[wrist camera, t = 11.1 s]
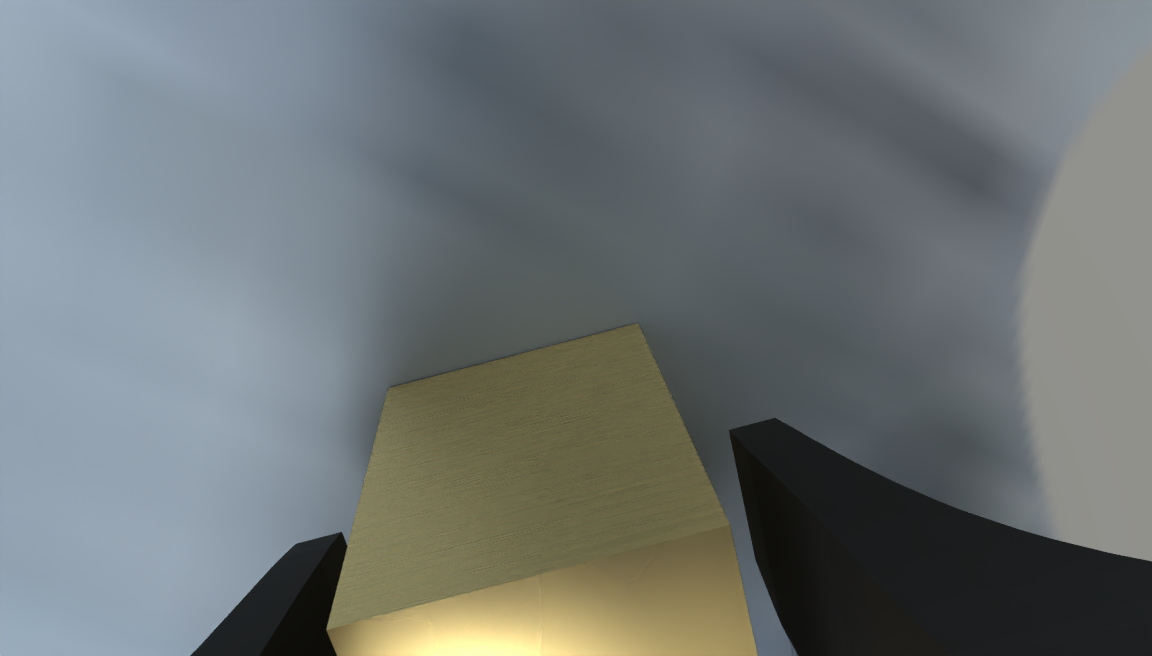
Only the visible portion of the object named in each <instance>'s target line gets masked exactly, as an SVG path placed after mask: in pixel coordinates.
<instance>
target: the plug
mask: <svg viewBox="0 0 1152 656" xmlns="http://www.w3.org/2000/svg"><path fill="white" fill-rule="evenodd" d="M326 630H327V633H328V635H329V638H330V640H331V642H332V645H333V647H334V649H335V652H336V654H337V656H758V655H757V650H756V645H755V641H754V636H753V631H752V626H751V621H750V617H749V612H748V607H747V602H746V598H745V593H744V588H743V583H742V579H741V574H740V569H739V564H738V560H737V555H736V550H735V545H734V541H733V536H732V531H731V526H730V523H729V521H728V519H727V517H726V515H725V512H724V510H723V508H722V506H721V504H720V501H719V499H718V497H717V495H716V493H715V490H714V488H713V486H712V484H711V482H710V480H709V477H708V475H707V473H706V471H705V469H704V466H703V464H702V462H701V460H700V458H699V455H698V453H697V451H696V449H695V447H694V445H693V442H692V440H691V438H690V436H689V434H688V431H687V429H686V427H685V425H684V423H683V420H682V418H681V416H680V414H679V412H678V409H677V407H676V405H675V403H674V401H673V399H672V396H671V394H670V392H669V390H668V388H667V385H666V383H665V381H664V379H663V377H662V374H661V372H660V370H659V368H658V366H657V364H656V361H655V359H654V357H653V355H652V353H651V350H650V348H649V346H648V344H647V342H646V339H645V337H644V335H643V333H642V331H641V328H640V326H639V324H638V323H637V324H633V325H629V326H625V327H621V328H617V329H614V330H610V331H606V332H602V333H598V334H594V335H590V336H587V337H583V338H579V339H575V340H571V341H567V342H564V343H560V344H556V345H552V346H548V347H544V348H540V349H537V350H533V351H529V352H525V353H521V354H517V355H513V356H510V357H506V358H502V359H498V360H494V361H490V362H487V363H483V364H479V365H475V366H471V367H467V368H463V369H460V370H456V371H452V372H448V373H444V374H440V375H436V376H433V377H429V378H425V379H421V380H417V381H413V382H409V383H406V384H402V385H398V386H394V387H390V388H388V390H387V394H386V398H385V402H384V406H383V410H382V414H381V418H380V422H379V426H378V429H377V433H376V437H375V441H374V445H373V449H372V453H371V457H370V461H369V465H368V469H367V472H366V476H365V480H364V484H363V488H362V492H361V496H360V500H359V504H358V508H357V512H356V515H355V519H354V523H353V527H352V531H351V535H350V539H349V543H348V547H347V551H346V555H345V558H344V562H343V566H342V570H341V574H340V578H339V582H338V586H337V590H336V594H335V598H334V601H333V605H332V609H331V613H330V617H329V621H328V625H327V629H326Z"/></svg>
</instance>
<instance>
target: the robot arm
mask: <svg viewBox="0 0 1152 656" xmlns="http://www.w3.org/2000/svg"><path fill="white" fill-rule="evenodd" d="M729 433H730V438H731V443H732V448H733V452H734V457H735V462H736V467H737V472H738V477H739V482H740V486H741V491H742V496H743V501H744V506H745V511H746V516H747V521H748V525H749V530H750V535H751V540H752V545H753V550H754V555H755V559H756V562H757V565H758V567H759V570H760V572H761V575H762V577H763V580H764V583H765V585H766V588H767V590H768V593H769V595H770V598H771V600H772V603H773V605H774V608H775V610H776V612H777V615H778V617H779V620H780V622H781V625H782V627H783V629H784V630H785V632H786V634H787V636H788V638H789V640H790V642H791V643H792V645H793V647H794V649H795V651H796V652H797V654H798V656H1152V562H1151V561H1147V560H1142V559H1137V558H1132V557H1126V556H1121V555H1116V554H1112V553H1107V552H1103V551H1099V550H1094V549H1091V548H1086V547H1082V546H1078V545H1074V544H1070V543H1066V542H1062V541H1058V540H1054V539H1050V538H1047V537H1043V536H1039V535H1036V534H1032V533H1029V532H1025V531H1022V530H1019V529H1016V528H1013V527H1010V526H1007V525H1004V524H1001V523H998V522H995V521H992V520H989V519H986V518H983V517H980V516H977V515H974V514H971V513H968V512H965V511H962V510H960V509H957V508H954V507H952V506H949V505H947V504H944V503H942V502H939V501H937V500H935V499H932V498H930V497H928V496H925V495H923V494H921V493H918V492H916V491H914V490H911V489H909V488H907V487H904V486H902V485H900V484H898V483H896V482H894V481H891V480H889V479H887V478H885V477H883V476H881V475H879V474H877V473H875V472H873V471H871V470H869V469H867V468H865V467H863V466H861V465H859V464H857V463H855V462H853V461H851V460H849V459H848V458H846V457H844V456H842V455H840V454H838V453H836V452H835V451H833V450H831V449H829V448H827V447H826V446H824V445H822V444H820V443H818V442H817V441H815V440H813V439H811V438H810V437H808V436H806V435H804V434H803V433H801V432H799V431H797V430H796V429H794V428H792V427H790V426H789V425H787V424H785V423H783V422H781V421H780V420H778V419H776V418H773V419H769V420H765V421H761V422H758V423H754V424H750V425H746V426H742V427H739V428H735V429H731V430H729ZM347 547H348V546H347V544H346V541H345V539H344V536H343V534H342V532H340V533H336V534H332V535H328V536H324V537H321V538H317V539H313V540H309V541H305V542H302V543H298V544H296V545H294V546H293V547H292V548H291V549H290V550H289V551H288V552H287V553H286V554H285V555H284V556H283V557H282V558H281V559H280V560H279V561H278V562H277V563H276V564H275V565H274V566H273V567H272V568H271V569H270V570H269V571H268V572H267V573H266V574H265V575H264V577H263V578H262V579H261V580H260V581H259V582H258V583H257V584H256V585H255V586H254V587H253V589H252V590H251V591H250V592H249V593H248V594H247V595H246V596H245V597H244V598H243V600H242V601H241V602H240V603H239V604H238V605H237V606H236V607H235V608H234V609H233V611H232V612H231V613H230V614H229V615H228V616H227V617H226V618H225V619H224V620H223V621H222V622H221V624H220V625H219V626H218V627H217V628H216V629H215V630H214V631H213V632H212V633H211V634H210V636H209V637H208V638H207V639H206V640H205V641H204V642H203V643H202V644H201V645H200V646H199V647H198V648H197V650H196V651H195V652H194V653H193V654H192V655H191V656H337V654H336V652H335V649H334V647H333V645H332V642H331V640H330V638H329V635H328V633H327V630H326V629H327V625H328V621H329V617H330V613H331V609H332V605H333V601H334V598H335V594H336V590H337V586H338V582H339V578H340V574H341V570H342V566H343V562H344V558H345V555H346V551H347Z"/></svg>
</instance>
